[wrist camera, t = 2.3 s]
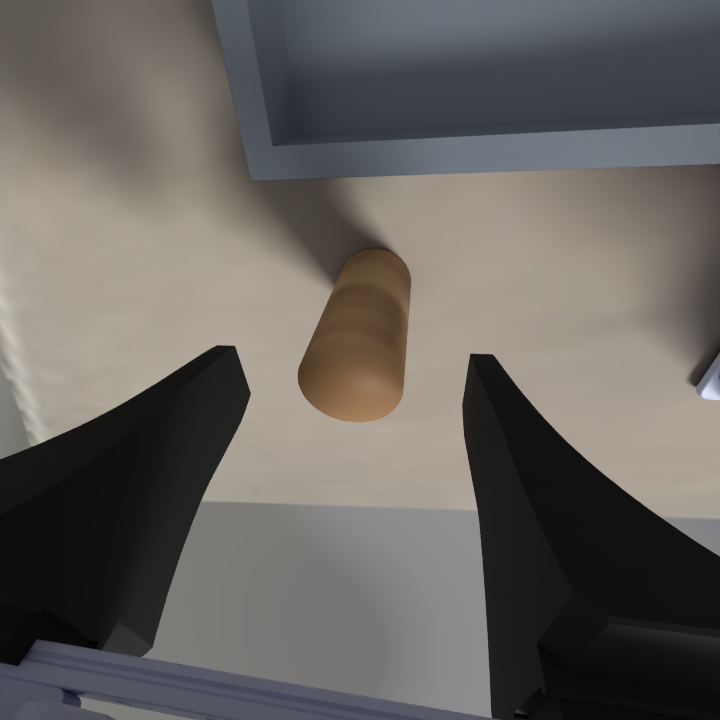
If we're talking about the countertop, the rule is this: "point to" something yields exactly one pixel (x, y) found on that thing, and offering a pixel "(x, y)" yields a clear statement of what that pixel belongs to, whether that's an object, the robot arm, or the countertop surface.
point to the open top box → (471, 85)
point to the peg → (360, 340)
